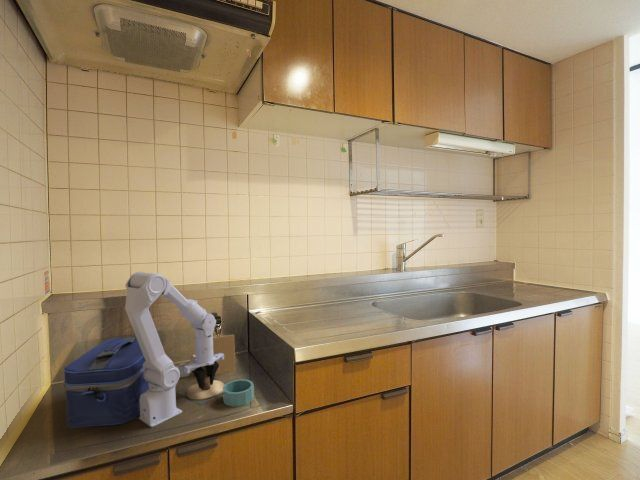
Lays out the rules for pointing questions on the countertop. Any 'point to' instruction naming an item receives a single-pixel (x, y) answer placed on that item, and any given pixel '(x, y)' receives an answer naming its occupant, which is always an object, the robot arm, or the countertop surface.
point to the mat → (184, 393)
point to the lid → (205, 390)
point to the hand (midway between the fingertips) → (205, 386)
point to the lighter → (181, 366)
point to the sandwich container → (225, 353)
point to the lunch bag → (105, 384)
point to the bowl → (238, 392)
